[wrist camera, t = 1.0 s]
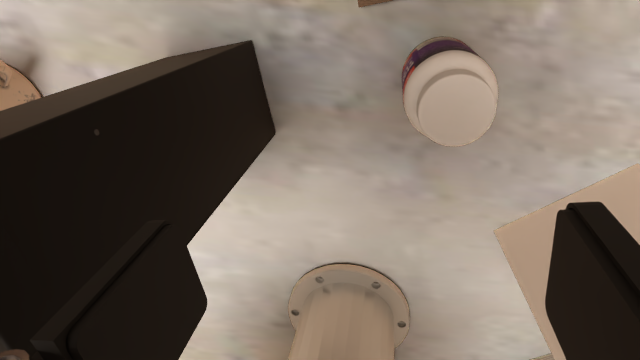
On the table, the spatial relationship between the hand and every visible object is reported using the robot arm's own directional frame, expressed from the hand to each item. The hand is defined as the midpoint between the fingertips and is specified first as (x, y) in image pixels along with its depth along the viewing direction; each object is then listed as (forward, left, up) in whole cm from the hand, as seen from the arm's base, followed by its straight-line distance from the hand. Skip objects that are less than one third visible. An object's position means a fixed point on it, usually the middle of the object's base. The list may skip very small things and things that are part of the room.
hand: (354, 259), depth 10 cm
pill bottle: (-2, -4, -23) cm, 23 cm away
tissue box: (+5, +12, -23) cm, 26 cm away
